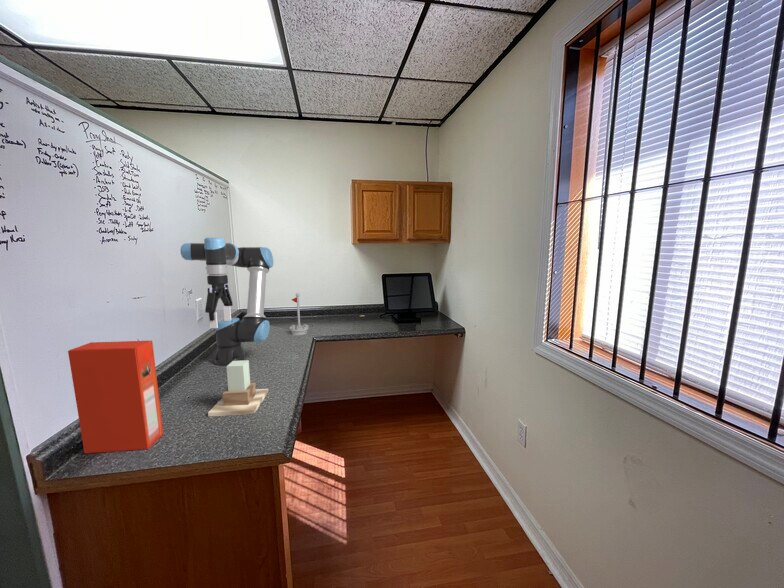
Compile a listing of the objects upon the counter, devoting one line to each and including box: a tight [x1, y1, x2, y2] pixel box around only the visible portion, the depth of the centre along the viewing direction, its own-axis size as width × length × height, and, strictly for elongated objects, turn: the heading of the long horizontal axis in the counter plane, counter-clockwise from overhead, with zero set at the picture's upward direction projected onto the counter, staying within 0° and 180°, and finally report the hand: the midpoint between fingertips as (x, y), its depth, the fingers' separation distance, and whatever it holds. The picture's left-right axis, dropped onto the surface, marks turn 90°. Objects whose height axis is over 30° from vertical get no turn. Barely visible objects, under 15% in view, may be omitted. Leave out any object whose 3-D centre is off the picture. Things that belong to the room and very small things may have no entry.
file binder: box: [67, 340, 164, 455], centre depth 93 cm, size 8×17×32 cm, turn 97°
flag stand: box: [289, 292, 309, 336], centre depth 223 cm, size 13×13×30 cm
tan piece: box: [207, 381, 269, 417], centre depth 120 cm, size 18×16×6 cm
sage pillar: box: [225, 359, 251, 391], centre depth 119 cm, size 6×6×10 cm
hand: (221, 324), depth 131 cm, fingers open, 13 cm apart
